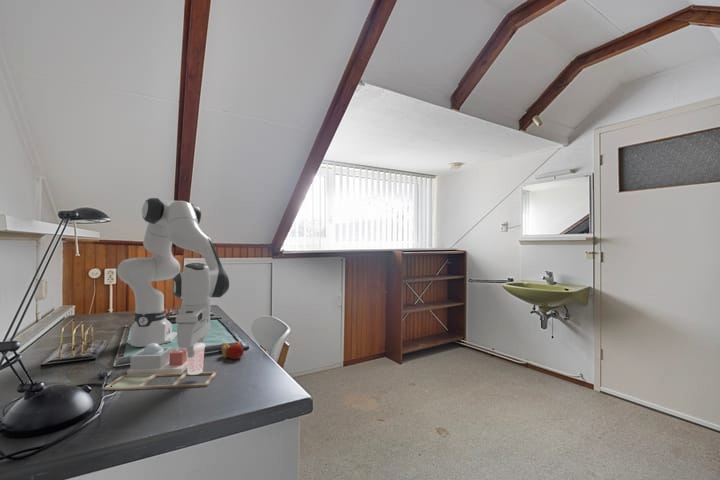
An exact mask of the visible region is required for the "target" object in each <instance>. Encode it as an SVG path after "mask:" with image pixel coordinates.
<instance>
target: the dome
mask: <svg viewBox="0 0 720 480" xmlns="http://www.w3.org/2000/svg"><path fill="white" fill-rule="evenodd" d="M161 347H162V346H161V344H157V343H151V344H149V345H147V346H146V347H144V348H145V349H144V348H143V349H144V351H142V352H141V355H159V354H161V353H162V352H164V349H162V348H161Z"/></svg>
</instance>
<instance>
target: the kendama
mask: <svg viewBox="0 0 720 480" xmlns="http://www.w3.org/2000/svg"><path fill="white" fill-rule="evenodd" d="M220 350H221V354H222V356H223V358H224V359H226V358H230V359H231V360H239V359H240V358H241V357H242V356H243V354H244V347H243V345H241V342H240V341H236V342H235V343H232V344H231V345H230V344H228V343H227V342H223V343H221V345H220Z"/></svg>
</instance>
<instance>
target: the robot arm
mask: <svg viewBox="0 0 720 480" xmlns="http://www.w3.org/2000/svg"><path fill="white" fill-rule="evenodd" d="M141 214H142V218H143V220H144V221H145V222H147V228H146V230H145V234H144V237H143V242H142V244H143V247H144V249H145V250H147V252H149V253H151V254H152V255H151V257H133V258H127V259H123V260H121V262H120V263H118V265H117V268H116V269H117V270H116V273H117V274H116V275H117V276H118V278H119V279H120V280H121V282H124V283H125V284H127V285H128V286H129V287H130V289H131V290H132V292H133V294H134V301H135V302H134V305H135V312H134V315H133V321H134V322H133V323H132V324H131V326H130V335H129V340H126V344H127V343H128V344H127V345H130V346H131V347H136V348H139V347H141V348H145V347H146V346H147V345H149V344H151V343H157V344H159V345H162V344H163V345H164V344H167V343H169V344H170V343H172V342H173V341H174V340H175V338H176V337H177V339H176V340H177V346H178V347H179V349H185V348H186V350H187V352H188V357H189V358H191V357H193V356H194V355H195V351H194V344H195V343H204V341H205V336H206V335H208V334H209V333H210V331H211V299H210V298H221V297H223V296H224V295H225V294H226V293H228V291H229V288H230V280H229V276H228V274H227V273H226V271H225V269H224V267H223V265H222V262H221V260H220V257H219V255H218V253H217V250H216V248H215V245H214V243H213V241H212V239H211V237H209V236H208V235H206V234H205V233H204V231H202V230H201V228H200V225H199V224H200V222H201V219H202V211H201V209H200V207H199V206H198V205H195V204H193V203H190V202H188V201H185V200H171V199H165V198H164V199H163V198H162V199H161V198H157V197H150V198H149V197H148V199H146V200H145V201H144V203H143V204H142V207H141ZM173 244H174V245H175V246H176V247H178V248H181V249H184V250H186V251H187V250H189V251H192V252H194V253H197V254H200V256H202V257H203V258H204V261H205V263H206V264H205V263H200V262H191V263H187V264H185V265H184V266H183V270H182V272H180V271H181V265H180V262H179V260H178V259H177V258H175V257H174V255H173V253H172V247H173ZM170 279H172V295H174V296H175V297H177V298H178V299H181V307H180V310H179V312H178V313H177V314H176V316H175V323H176V324H177V326H176V331H173V325H172V322H170V321H169V320H168V319H167V318H166V317H167V316H166V314H168V309H167V308H166V309H165V296H164V293H163V292H162V291H161V290H159V289H158V288H154V287H153V284H152V282H157V281H167V280H170Z"/></svg>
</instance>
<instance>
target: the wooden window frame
mask: <svg viewBox="0 0 720 480" xmlns="http://www.w3.org/2000/svg"><path fill="white" fill-rule="evenodd" d="M203 375H204V376H206V375H207V376H208V375H209V378H208V379H207V380H206V381H205V382H204V383H203V382H202V383H182V384H181V383H180V382H182V380H183V379H185V377H187V376H190V375H189V374H188V372H182V373H161V374H131V375H127V374H122V375H121V376H119V377H117V378H116V379H114V380H112V382H110V383H109V384H107V385H106V386H104V387H103V388H104V390H103V391H118V390H121V391H123V390H146V389H148V390H149V389H170V388H171V389H173V388H199V387H204V388H205V387H208V386H209V384H210V383H211V382H212V381H213V379H215V377H216V375H218V371H203V372H202V373H199V374H195V375H194V376H203ZM179 376H180V377H179ZM155 377H156V378H157V377H178V378H177V379H176V380H175V381H174V382H173V383H172V384H152V385H151V384H150V385H147V384H149V383H150V382H151V381H152V380H153V379H155ZM111 386H112V387H111Z"/></svg>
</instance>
